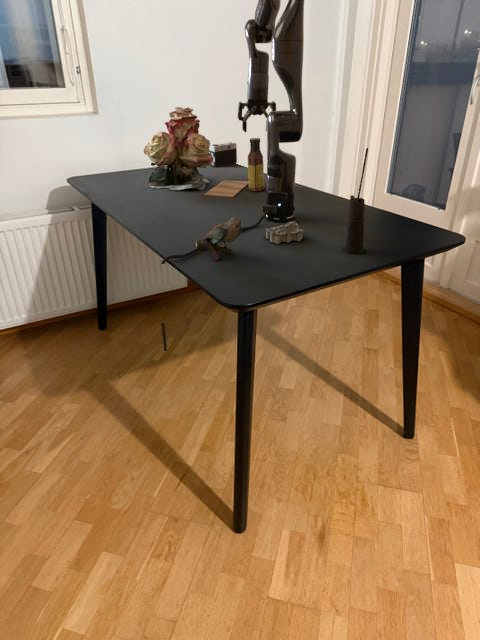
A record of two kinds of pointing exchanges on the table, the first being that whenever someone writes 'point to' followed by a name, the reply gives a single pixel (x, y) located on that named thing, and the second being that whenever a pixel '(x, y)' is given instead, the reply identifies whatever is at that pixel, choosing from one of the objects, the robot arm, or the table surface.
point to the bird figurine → (221, 237)
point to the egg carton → (284, 233)
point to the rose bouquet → (179, 153)
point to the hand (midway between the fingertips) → (256, 131)
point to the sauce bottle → (255, 166)
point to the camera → (223, 154)
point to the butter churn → (356, 221)
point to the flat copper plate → (227, 188)
